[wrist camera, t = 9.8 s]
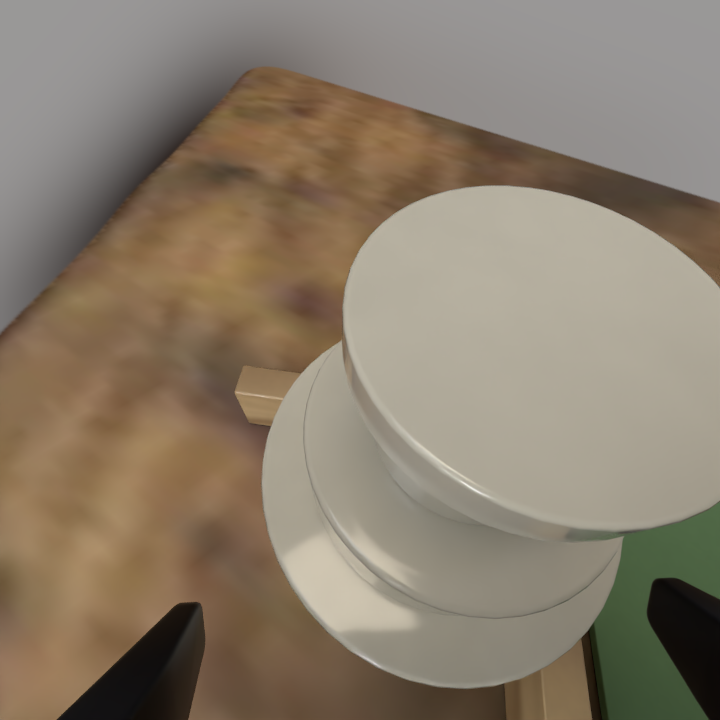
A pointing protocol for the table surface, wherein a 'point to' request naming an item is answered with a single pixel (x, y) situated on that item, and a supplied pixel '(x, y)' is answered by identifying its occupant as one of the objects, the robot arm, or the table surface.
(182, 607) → the robot arm
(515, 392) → the lidded jar
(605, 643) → the green cloth
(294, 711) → the table surface
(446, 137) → the table surface
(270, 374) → the corner rails
